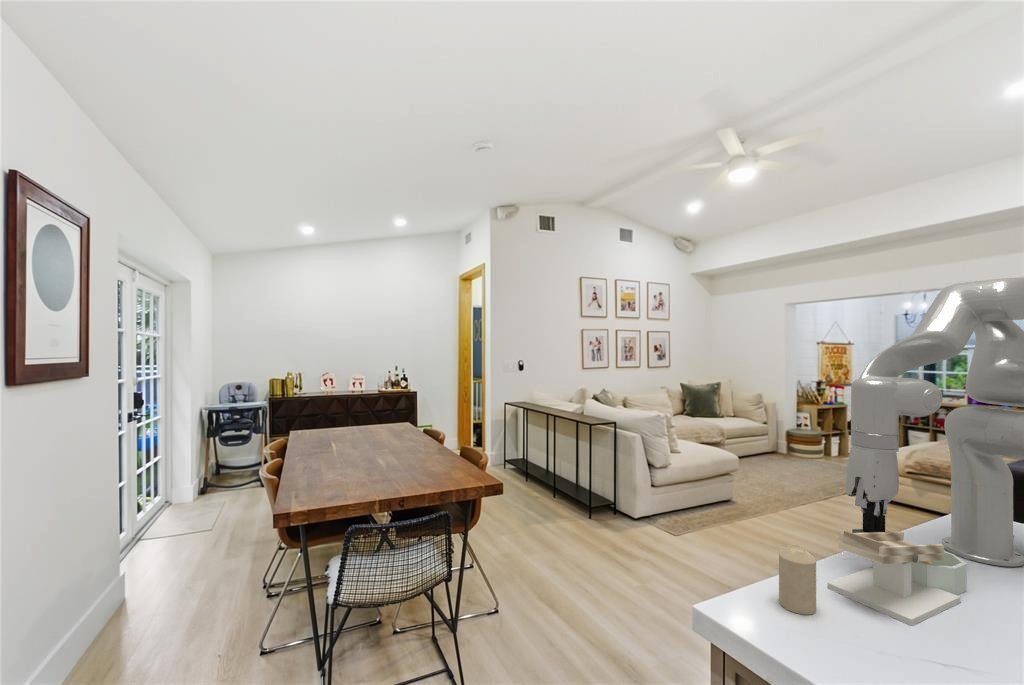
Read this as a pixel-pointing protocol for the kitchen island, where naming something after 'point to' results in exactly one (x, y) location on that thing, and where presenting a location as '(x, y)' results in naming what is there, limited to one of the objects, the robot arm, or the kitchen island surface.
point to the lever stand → (894, 592)
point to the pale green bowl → (942, 574)
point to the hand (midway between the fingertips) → (873, 533)
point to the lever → (888, 547)
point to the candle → (797, 580)
